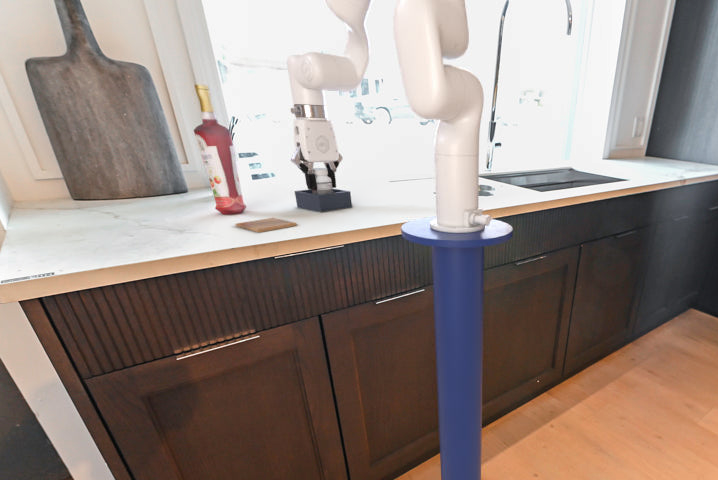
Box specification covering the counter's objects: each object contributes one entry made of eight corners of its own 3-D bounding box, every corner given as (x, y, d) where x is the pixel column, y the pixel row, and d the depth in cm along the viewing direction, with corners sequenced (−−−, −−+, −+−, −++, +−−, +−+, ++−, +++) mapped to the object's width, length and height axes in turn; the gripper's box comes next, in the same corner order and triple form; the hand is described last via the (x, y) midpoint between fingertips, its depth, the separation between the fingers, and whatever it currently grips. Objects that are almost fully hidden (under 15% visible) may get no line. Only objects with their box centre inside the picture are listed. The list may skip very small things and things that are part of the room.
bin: (352, 207, 119) (350, 191, 118) (321, 212, 112) (318, 195, 110) (328, 202, 124) (326, 187, 122) (297, 207, 117) (294, 191, 115)
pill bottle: (313, 204, 119) (307, 167, 115) (334, 204, 121) (328, 167, 117) (315, 208, 115) (309, 169, 110) (336, 207, 117) (331, 169, 112)
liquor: (254, 212, 109) (226, 86, 96) (224, 216, 103) (191, 83, 91) (239, 209, 112) (210, 86, 100) (209, 212, 107) (175, 84, 94)
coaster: (296, 225, 97) (296, 222, 97) (258, 232, 90) (258, 229, 90) (273, 220, 101) (273, 217, 101) (235, 226, 94) (235, 223, 94)
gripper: (289, 112, 99) (302, 193, 108) (348, 115, 112) (356, 186, 121) (270, 112, 103) (285, 190, 111) (330, 114, 116) (339, 184, 124)
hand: (322, 187), depth 116 cm, fingers closed on pill bottle, 5 cm apart
